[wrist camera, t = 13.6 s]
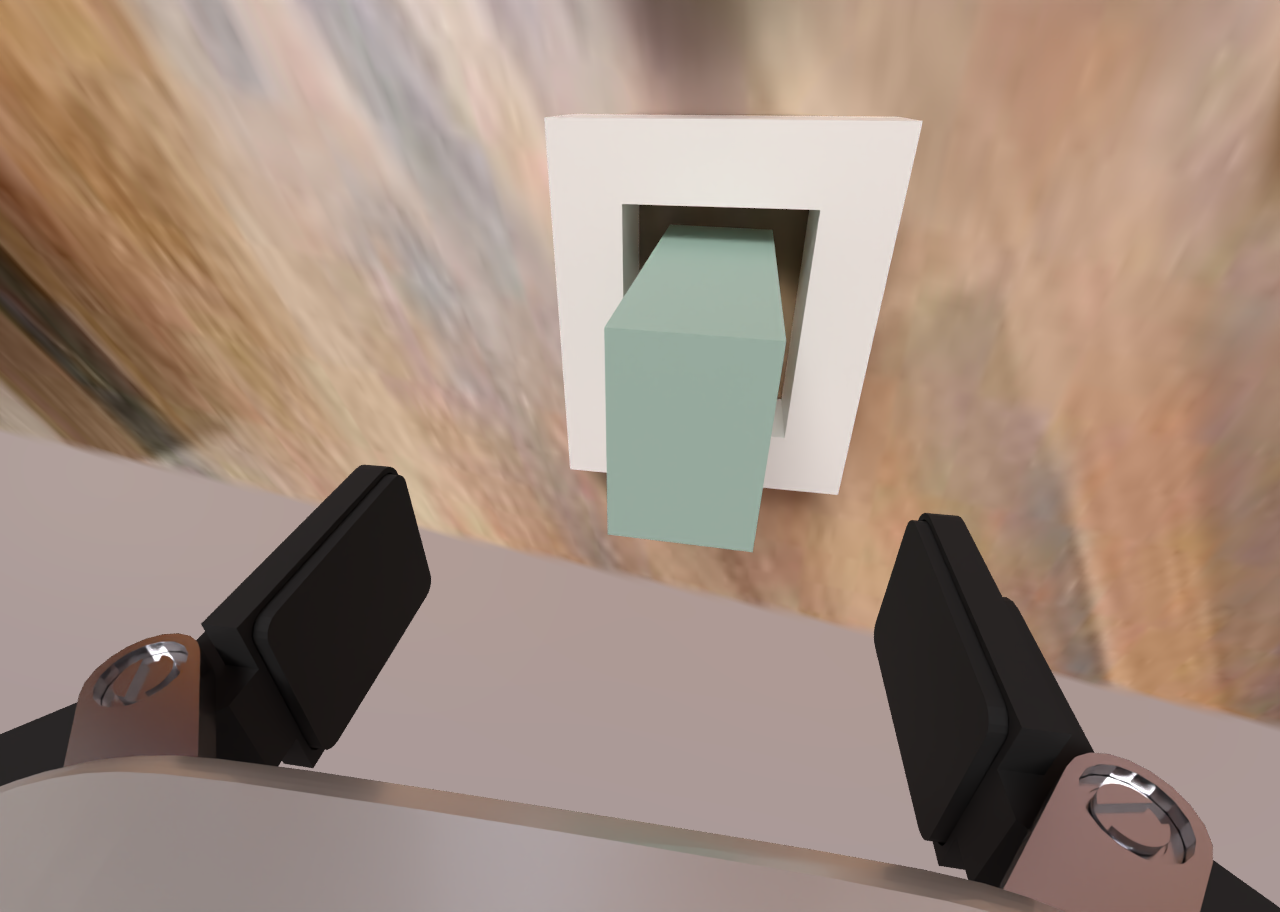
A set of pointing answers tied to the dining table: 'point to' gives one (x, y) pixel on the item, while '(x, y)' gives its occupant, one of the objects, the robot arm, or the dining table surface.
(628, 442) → the peg
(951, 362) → the dining table surface
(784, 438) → the socket block
